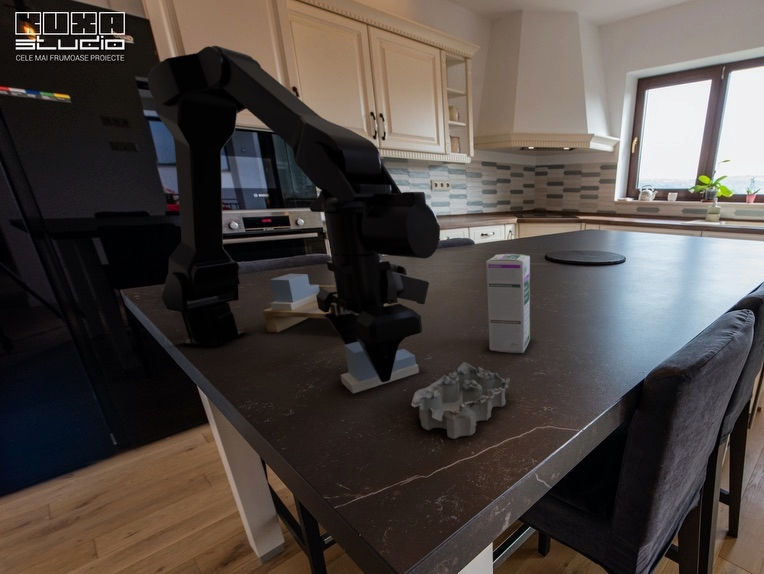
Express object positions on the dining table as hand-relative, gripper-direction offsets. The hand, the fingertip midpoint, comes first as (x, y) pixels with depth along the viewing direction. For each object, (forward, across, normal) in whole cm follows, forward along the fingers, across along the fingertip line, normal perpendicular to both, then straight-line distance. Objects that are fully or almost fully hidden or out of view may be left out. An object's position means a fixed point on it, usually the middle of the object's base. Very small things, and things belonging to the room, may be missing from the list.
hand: (373, 371), depth 52 cm
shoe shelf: (+1, +28, -4) cm, 28 cm away
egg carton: (+1, -15, -4) cm, 15 cm away
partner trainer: (-3, +32, 0) cm, 32 cm away
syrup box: (+1, -3, -22) cm, 22 cm away
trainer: (+1, 0, 0) cm, 1 cm away
